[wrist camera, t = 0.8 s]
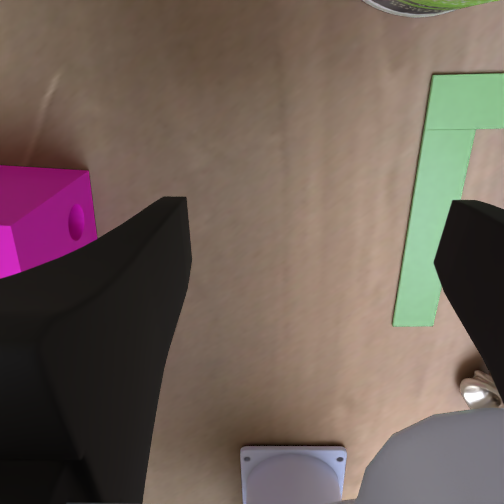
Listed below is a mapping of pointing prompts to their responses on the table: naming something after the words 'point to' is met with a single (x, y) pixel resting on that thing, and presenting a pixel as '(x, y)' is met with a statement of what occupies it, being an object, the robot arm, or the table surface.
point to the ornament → (480, 391)
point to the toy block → (43, 215)
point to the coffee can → (422, 6)
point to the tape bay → (442, 182)
